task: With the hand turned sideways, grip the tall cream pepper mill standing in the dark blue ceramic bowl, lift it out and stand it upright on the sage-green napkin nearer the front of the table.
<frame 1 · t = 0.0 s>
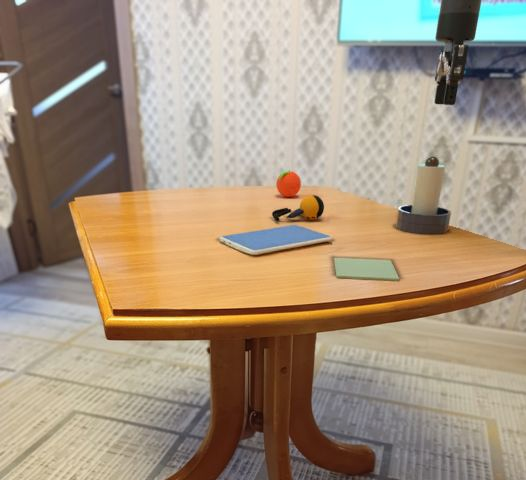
hand: (443, 104, 107), 25 cm above the table, tool pointing down, fingers open, 8 cm apart
clementine: (286, 197, 144), on the table
napkin: (364, 269, 86), on the table
bowl: (421, 230, 112), on the table
tablet: (276, 243, 100), on the table
character figurine: (298, 220, 119), on the table
pepper mill: (421, 228, 111), point 1 cm above the table, touching bowl
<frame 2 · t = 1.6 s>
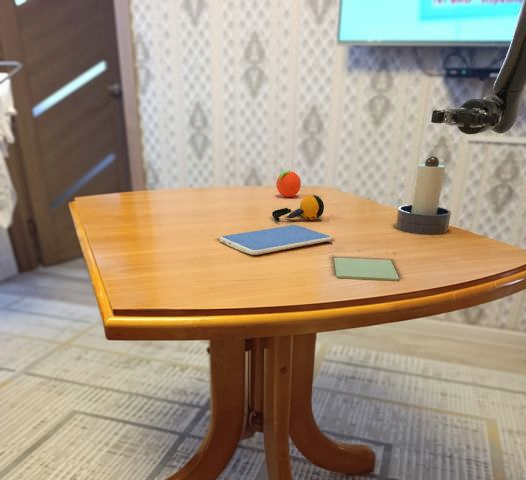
hand: (455, 118, 109), 22 cm above the table, tool horizontal, fingers open, 8 cm apart
nothing on the table moved.
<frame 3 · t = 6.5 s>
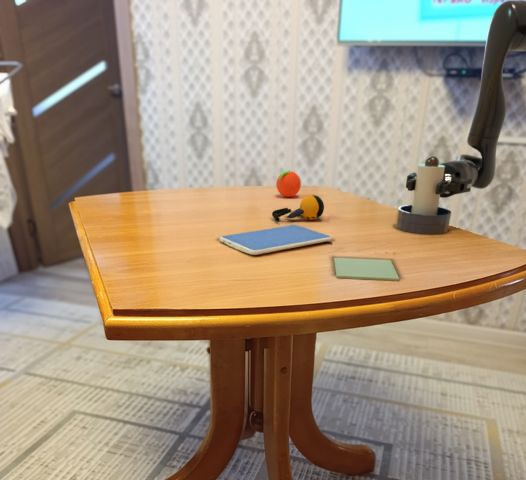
hand: (423, 187, 105), 10 cm above the table, tool horizontal, fingers closed on pepper mill, 5 cm apart
pepper mill: (421, 227, 111), point 1 cm above the table, touching bowl, gripper
everything else where it was.
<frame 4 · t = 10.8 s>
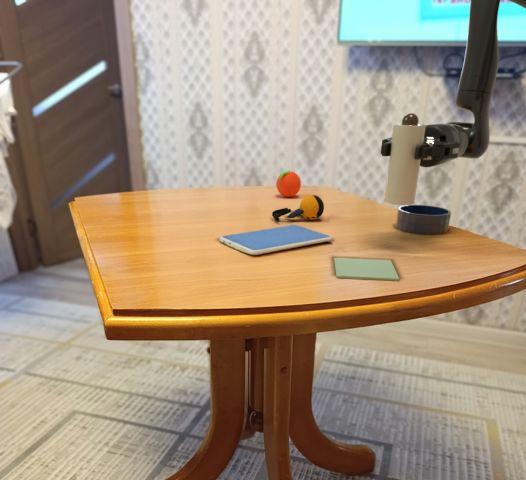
hand: (400, 151, 87), 18 cm above the table, tool horizontal, fingers closed on pepper mill, 5 cm apart
pepper mill: (399, 202, 93), point 9 cm above the table, touching gripper
everything else where it was.
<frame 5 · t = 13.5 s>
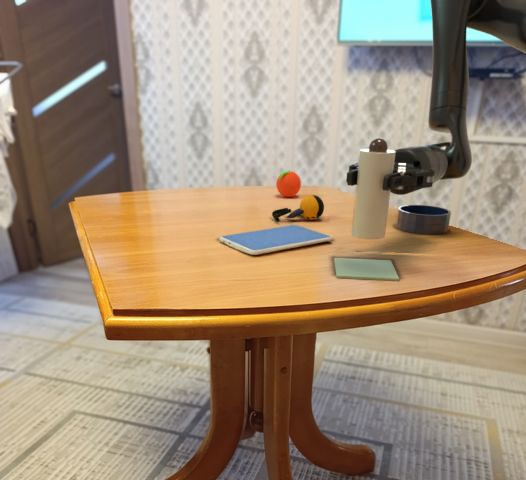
hand: (367, 180, 78), 15 cm above the table, tool horizontal, fingers closed on pepper mill, 5 cm apart
pepper mill: (367, 235, 83), point 6 cm above the table, touching gripper
everything else where it was.
when the fingers open (9 cm above the table, at t = 15.5 s): pepper mill stays where it is, resting on napkin.
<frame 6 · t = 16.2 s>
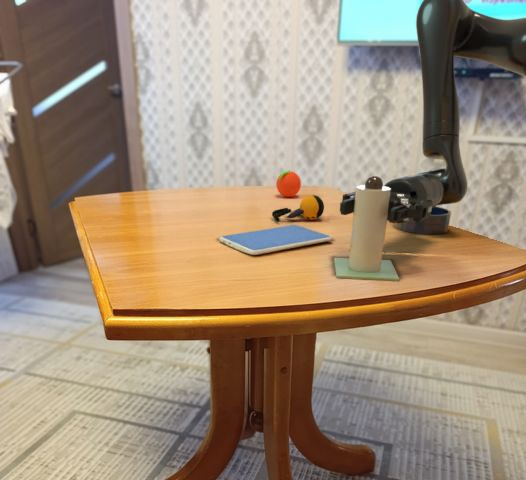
hand: (366, 212, 80), 10 cm above the table, tool horizontal, fingers open, 8 cm apart
pepper mill: (364, 267, 86), resting on napkin
everything else where it was.
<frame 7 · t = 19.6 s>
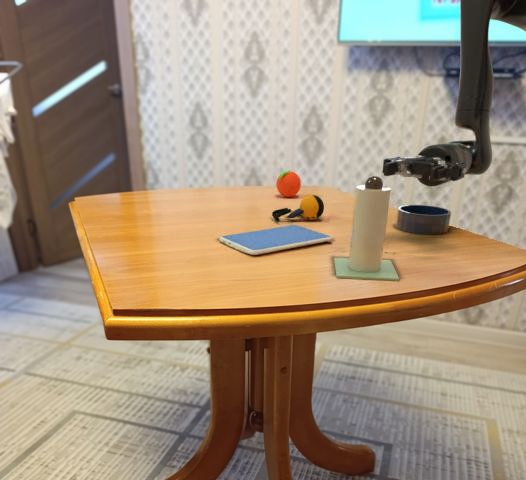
hand: (408, 172, 89), 14 cm above the table, tool horizontal, fingers open, 8 cm apart
nothing on the table moved.
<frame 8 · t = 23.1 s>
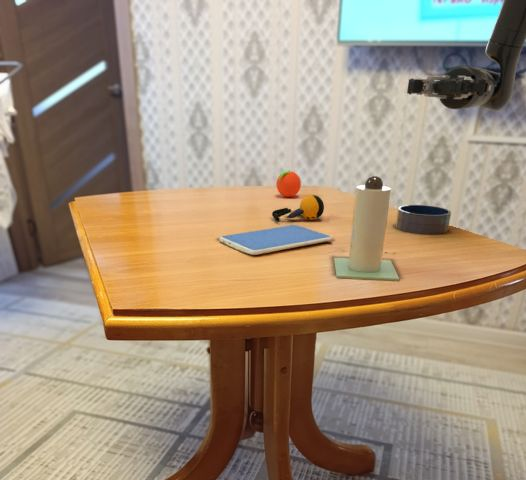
hand: (435, 86, 90), 28 cm above the table, tool horizontal, fingers open, 8 cm apart
nothing on the table moved.
at the end: pepper mill inside the target area on the napkin (0.1 cm from its centre), point 0.4 cm above the napkin's base; pepper mill tilted 0°; the gripper is holding nothing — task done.
